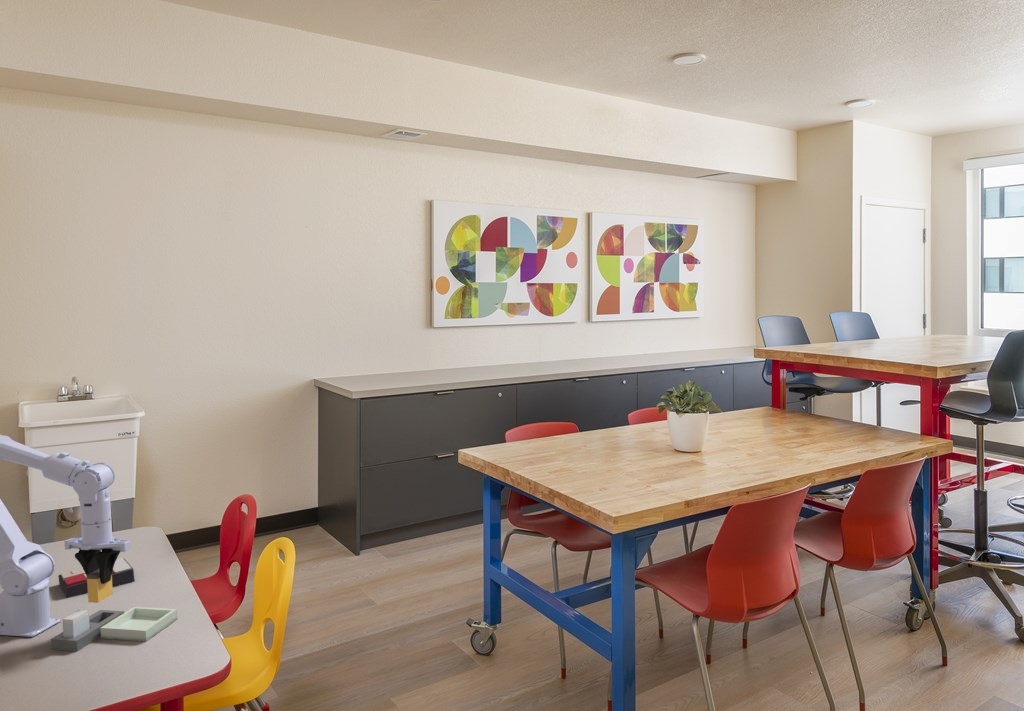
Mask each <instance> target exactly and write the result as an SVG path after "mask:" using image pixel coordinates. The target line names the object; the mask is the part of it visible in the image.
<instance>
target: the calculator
mask: <svg viewBox="0 0 1024 711" xmlns="http://www.w3.org/2000/svg"><path fill="white" fill-rule="evenodd" d="M135 581H136V580H135V572H134V568H133V567H132V566H131V564H130V563H129V562H128V561H127V560H126V558H123V557H117V559H116V561H115V564H114V567H113V571H112V587H118V586H123V585H126V584H132V583H134V582H135ZM58 585H59V587H60V588H61V590H62V593H63V594H64V596H65V598H69V599H70V598H72V597H77V596H81V595H85V594H88V587H87V576H86V573H85V571H84V569H83V567H77V568H74V569H70V570H67V571H63V572H60V574H59V575H58Z"/></svg>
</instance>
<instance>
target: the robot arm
mask: <svg viewBox="0 0 1024 711" xmlns="http://www.w3.org/2000/svg"><path fill="white" fill-rule="evenodd" d="M1 461H7V462H11V463H14V464H18V465H22V466H25V467H28V468H32V469H36V470H39V471H41V473H42V475H43V477H44V478H45V479H48V480H51V481H54V482H57V483H59V484H63V485H66V486H69V487H72V489H73V490H74V492H75V493H76V494H77V496H78V502H79V507H80V508H79V511H80V512H79V513H80V529H81V537H70V538H68V539H66V540H64V543H63V544H64V550H71V549H75V550H76V549H78V552H76V553H75V554H74V558H75V559H76V560H77V561H78V563H79V564H80V566H81V568H82V569H84V571H85V573H86V576H87V575H88V574H90V573H92V572H94V571H96V570H98V569H99V572H100V581H101V584H105V583H107V582H109V581H110V580H111V575H112V571H113V567H114V564H115V561H116V559H118V558H119V555H120V554H121V553H125V552H127V551H130V550H131V549H132V542H131V540H128V539H123V538H118V537H114V536H113V523H112V522H113V521H112V506H111V505H112V504H111V503H112V502H111V488H110V486H112V485H113V483H114V481H115V478H116V477H115V476H116V475H115V472H114V470H113V468H112V467H111V466H110V465H108V464H106V463H104V462H97V463H94V464H92V463H91V461H89V460H87V459H86V460H81V459H79V458H76V457H72V456H70V452H67V451H63V452H55V453H53V454H51V455H50V454H47V453H45V452H42V451H39V450H37V449H35V448H32V447H31V446H28V445H25V444H23V443H20V442H18V441H15V440H13V439H12V438H11V437H9V435H4V434H0V462H1ZM55 569H56V563H55V560H54V558H53V557H52V556H51V554H49V553H47V552H46V551H44V549H43V548H42V547H41V545H40V544H38V543H34V542H32V541H28V540H27V538H26V537H25V535H24V534H23V532H22V531H21V529H20V527H19V526H18V524H17V522H16V521H15V520H14V518H13V517H12V514H11V513H10V512H9V510H8V509H7V507H6V505H5V504H4V502H3V501H2V499H1V498H0V587H1V589H2V590H3V591H1V593H0V636H13V637H29V638H32V637H33V638H34V637H35V636H37V635H38V634H40V633H42V632H44V631H45V630H47V629H49V628H51V627H53V626H55V625H56V624H58V623H60V622H62V620H61V618H53V617H52V616H51V602H50V600H51V599H50V585H49V583H50V582H51V581H50V577H52V575H53V574H54V572H55Z"/></svg>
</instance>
